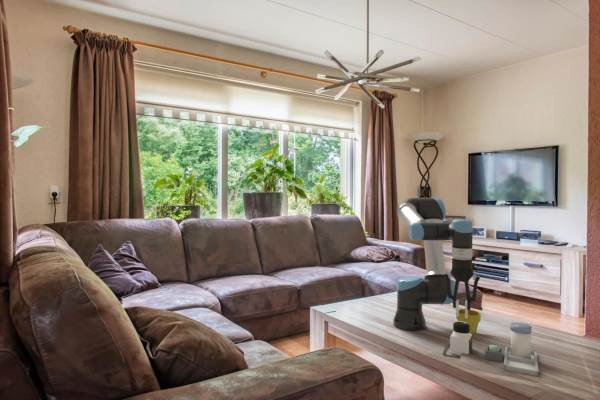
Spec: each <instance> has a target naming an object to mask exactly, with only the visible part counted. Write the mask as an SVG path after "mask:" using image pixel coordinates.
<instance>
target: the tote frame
mask: <svg viewBox="0 0 600 400" xmlns="http://www.w3.org/2000/svg"><path fill="white" fill-rule="evenodd" d="M449 347H450V343H447V344H446V345H445V348H444V349H443V352H442V356H446V357H450V358H456V359H461V356H459V355H454V354H451V355H450V354H447V353H446V352H447V350H448V348H449Z"/></svg>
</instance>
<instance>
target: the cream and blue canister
mask: <svg viewBox="0 0 600 400" xmlns="http://www.w3.org/2000/svg"><path fill="white" fill-rule="evenodd" d="M532 327H533V326H531V325H530V324H528V323H524V322H511V323H510V347H511V348H510V355H511V356H514V357H520V358H526V359H531V350H532V332H533V331H532V329H533V328H532Z"/></svg>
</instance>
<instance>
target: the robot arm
mask: <svg viewBox="0 0 600 400" xmlns="http://www.w3.org/2000/svg"><path fill="white" fill-rule="evenodd" d="M446 212H447V211H446V206H445V204H444V201H443V199H441V198H439V197H409V198H405V199H404V200H402V201H401V202H400V203H398V205H397V207H396V215H397V218H399V221H401V222H404V223H405V224H406V226H407V227H408V232H407V233H408V237H409V239H410V240H411V241H417V242H419V241H421V242H423V243H424V244H423V245H424V254H425V255H424V256H425V264H426V274H425V275H424V279H423V278H422V276H420V275H407V276H402V277H400V278H399V279H398V280H397V284H396V303H397V304H396V310H395V314H394V318H393V319H392V320H393V323H392V325H393V326H395V327H396V328H397V329H401V330H406V331H421V330H424V329H426V328H427V321H426V318H425V315H424V312H423V305H441V306H443V305H451V304H452V307H453V309H455V318H456V317H458V316H459V309H460V307H459V306H460V305H459V304H460V302H459V301H460V299H458V293H459V286H460V282H461V283H463V284H464V289H465V295H466V300H465V302H464V309H465V318H466V319H467V317H468V310H472V302H475V301H476V299H477V291H478V284H479V281H480V278H481V276H480V275H477V274H475V273H474V271H473V259H472V258H473V233H474V232H473V231H474V227H473V222H472V220H471V219H459V218H458V219H453V220H452V221H448V222H443V221H444V220H445V219H446ZM443 241H448V242H449V241H451V257H452V259H451V270H450V271H448V272H447V271H446V265H445V256H444V247H443ZM452 277H453V279H454V280H455V281H454V280H453V279H451V278H452ZM472 278H473V281H474V282H473V287H472V288H473V290H472V294H471V289H470V285H469V284H470V282H469V281H470V279H472ZM471 295H472V296H471Z"/></svg>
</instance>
